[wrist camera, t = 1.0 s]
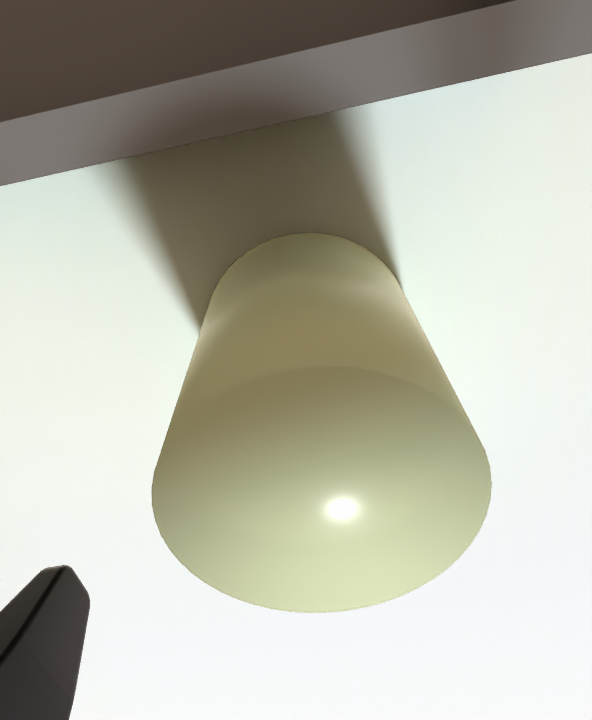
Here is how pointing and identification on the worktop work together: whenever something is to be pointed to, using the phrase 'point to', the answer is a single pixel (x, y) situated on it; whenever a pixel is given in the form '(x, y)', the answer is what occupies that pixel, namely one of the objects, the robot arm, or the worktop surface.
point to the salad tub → (317, 438)
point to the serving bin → (241, 65)
